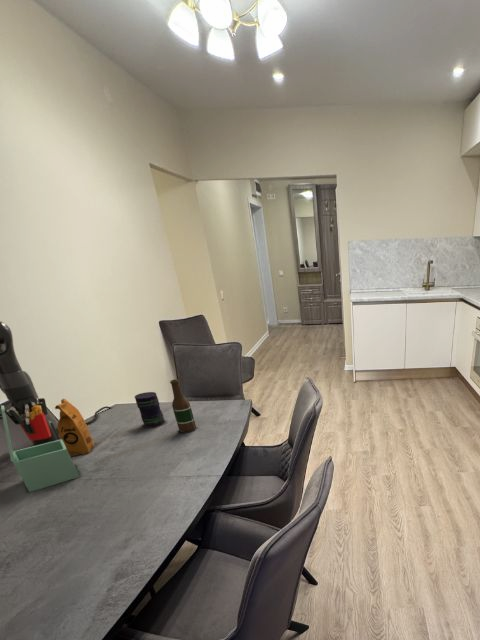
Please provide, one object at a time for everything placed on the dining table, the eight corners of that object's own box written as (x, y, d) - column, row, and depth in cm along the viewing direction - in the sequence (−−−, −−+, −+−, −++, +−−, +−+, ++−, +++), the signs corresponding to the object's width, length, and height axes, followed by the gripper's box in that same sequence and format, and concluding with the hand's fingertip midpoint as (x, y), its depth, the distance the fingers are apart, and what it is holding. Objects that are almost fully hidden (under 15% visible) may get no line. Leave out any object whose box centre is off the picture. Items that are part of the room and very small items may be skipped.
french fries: (26, 441, 140) (9, 409, 134) (30, 437, 144) (14, 406, 138) (53, 437, 142) (37, 406, 136) (56, 433, 146) (42, 402, 140)
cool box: (74, 465, 158) (61, 439, 152) (79, 476, 150) (66, 448, 144) (26, 479, 150) (11, 451, 144) (29, 492, 141) (13, 462, 135)
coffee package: (64, 457, 166) (41, 408, 155) (73, 446, 176) (52, 399, 165) (90, 453, 168) (69, 404, 157) (98, 442, 178) (78, 396, 167)
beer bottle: (199, 427, 190) (186, 378, 178) (188, 433, 184) (174, 383, 172) (187, 425, 193) (173, 377, 181) (175, 431, 186) (160, 382, 174)
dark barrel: (169, 421, 199) (160, 393, 191) (153, 428, 191) (143, 399, 184) (155, 419, 203) (146, 391, 195) (139, 426, 195) (129, 397, 188)
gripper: (24, 378, 140) (45, 423, 148) (-15, 390, 128) (11, 438, 136) (42, 378, 139) (62, 423, 147) (5, 390, 126) (29, 439, 135)
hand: (37, 430), depth 141 cm, fingers closed on french fries, 4 cm apart
